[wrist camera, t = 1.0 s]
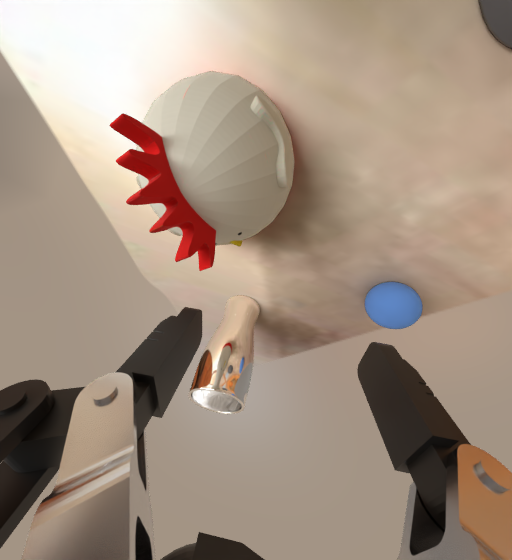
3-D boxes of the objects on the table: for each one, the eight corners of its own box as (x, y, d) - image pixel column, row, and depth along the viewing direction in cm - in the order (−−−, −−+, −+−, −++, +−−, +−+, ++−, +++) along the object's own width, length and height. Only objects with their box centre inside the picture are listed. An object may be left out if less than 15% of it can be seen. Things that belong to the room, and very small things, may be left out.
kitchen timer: (211, 244, 27) (146, 330, 15) (140, 131, 20) (-87, 123, 8) (310, 205, 22) (333, 289, 10) (262, 34, 15) (138, -394, 3)
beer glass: (265, 321, 34) (251, 417, 23) (229, 321, 36) (198, 411, 24) (258, 292, 30) (238, 390, 19) (218, 293, 32) (176, 385, 20)
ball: (369, 269, 25) (388, 300, 20) (417, 276, 25) (447, 309, 20) (352, 302, 29) (364, 334, 24) (393, 308, 28) (414, 342, 24)
